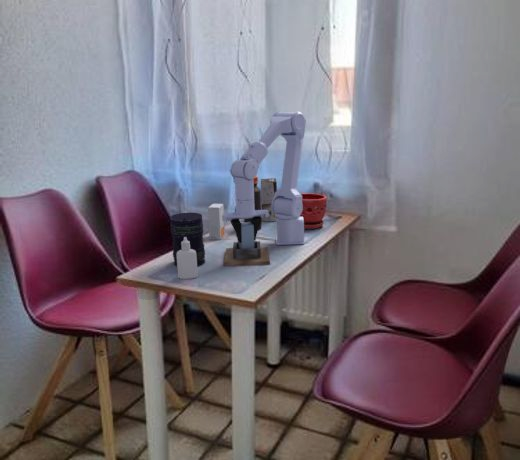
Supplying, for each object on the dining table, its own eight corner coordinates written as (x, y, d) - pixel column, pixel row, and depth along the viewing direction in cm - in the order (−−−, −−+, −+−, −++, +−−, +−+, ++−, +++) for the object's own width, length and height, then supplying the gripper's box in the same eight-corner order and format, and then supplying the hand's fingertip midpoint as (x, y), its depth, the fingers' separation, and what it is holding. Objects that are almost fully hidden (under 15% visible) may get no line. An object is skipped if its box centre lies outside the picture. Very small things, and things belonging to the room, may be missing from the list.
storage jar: (177, 257, 154) (173, 212, 150) (207, 257, 154) (204, 212, 149) (170, 268, 144) (166, 221, 140) (203, 268, 144) (199, 220, 140)
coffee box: (277, 221, 193) (276, 181, 188) (261, 221, 193) (260, 182, 189) (277, 215, 202) (276, 177, 197) (261, 216, 202) (260, 178, 197)
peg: (250, 245, 154) (249, 221, 152) (254, 249, 150) (253, 224, 148) (238, 247, 153) (237, 223, 151) (242, 250, 149) (241, 226, 147)
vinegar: (263, 226, 186) (261, 175, 181) (260, 231, 180) (258, 178, 174) (246, 225, 188) (244, 175, 182) (242, 230, 181) (240, 178, 176)
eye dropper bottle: (183, 273, 140) (180, 234, 137) (200, 275, 139) (197, 235, 135) (175, 278, 137) (172, 238, 133) (193, 280, 135) (190, 240, 131)
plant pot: (320, 232, 177) (320, 200, 173) (287, 228, 182) (286, 198, 179) (330, 223, 188) (331, 193, 185) (299, 220, 193) (299, 191, 190)
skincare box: (220, 240, 171) (219, 207, 167) (209, 239, 172) (207, 207, 168) (225, 235, 177) (223, 203, 173) (214, 234, 177) (212, 203, 174)
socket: (268, 249, 159) (268, 238, 158) (270, 264, 145) (269, 251, 144) (226, 251, 159) (225, 239, 158) (224, 265, 145) (223, 253, 144)
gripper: (263, 194, 153) (264, 234, 156) (218, 198, 148) (221, 240, 152) (270, 198, 146) (271, 240, 150) (224, 203, 142) (226, 246, 146)
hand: (246, 240), depth 151 cm, fingers closed on peg, 4 cm apart
